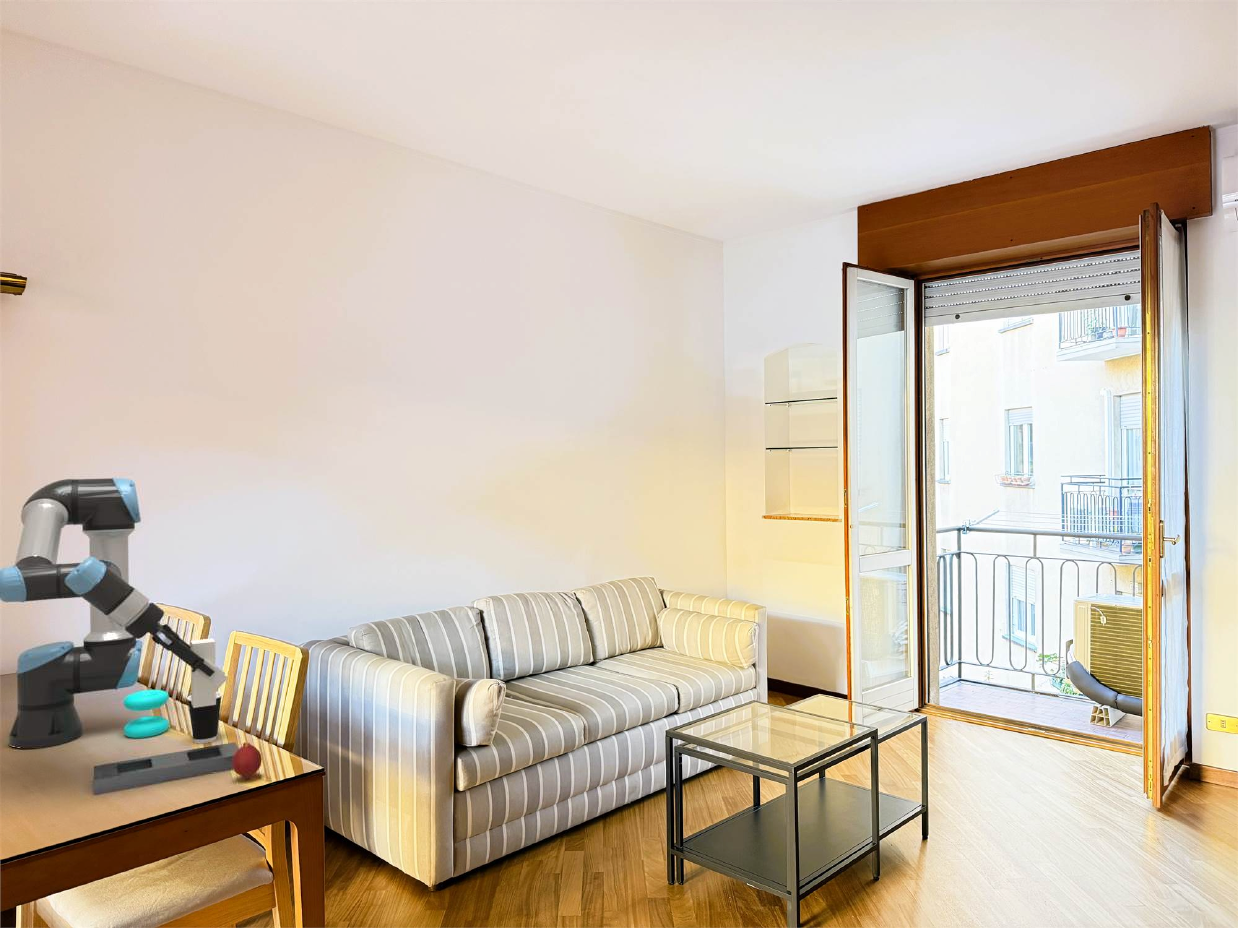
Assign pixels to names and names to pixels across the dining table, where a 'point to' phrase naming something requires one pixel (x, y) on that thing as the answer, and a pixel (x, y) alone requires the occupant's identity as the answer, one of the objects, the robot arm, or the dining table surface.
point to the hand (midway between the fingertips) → (221, 680)
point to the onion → (246, 760)
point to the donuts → (149, 723)
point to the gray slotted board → (163, 768)
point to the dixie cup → (205, 720)
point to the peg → (201, 686)
